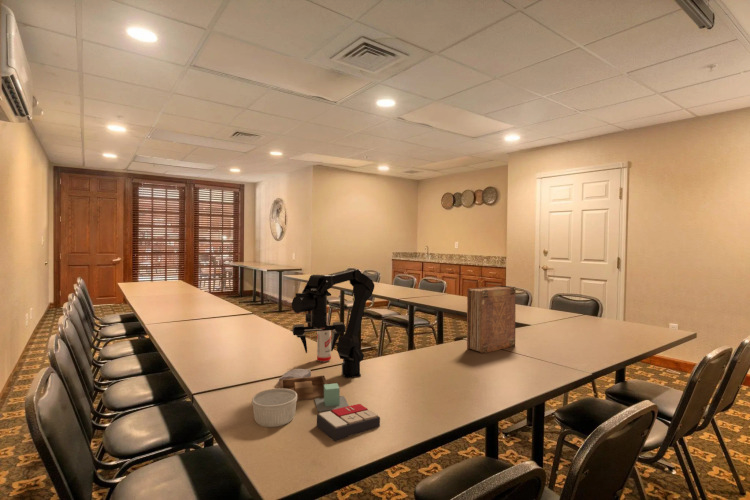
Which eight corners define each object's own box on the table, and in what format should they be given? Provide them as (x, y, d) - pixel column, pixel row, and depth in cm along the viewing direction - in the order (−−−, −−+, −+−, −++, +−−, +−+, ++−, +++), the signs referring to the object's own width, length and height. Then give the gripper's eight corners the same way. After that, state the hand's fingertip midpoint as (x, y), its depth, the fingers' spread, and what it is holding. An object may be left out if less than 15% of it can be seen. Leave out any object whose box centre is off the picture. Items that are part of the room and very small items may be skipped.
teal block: (337, 399, 130) (337, 383, 130) (339, 405, 126) (339, 388, 126) (323, 401, 129) (323, 384, 129) (325, 406, 125) (325, 389, 125)
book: (481, 353, 185) (481, 290, 184) (466, 349, 192) (466, 288, 192) (515, 345, 199) (515, 287, 198) (500, 342, 206) (500, 285, 206)
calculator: (380, 414, 112) (335, 426, 104) (380, 429, 112) (334, 442, 104) (360, 402, 121) (316, 411, 113) (359, 416, 121) (315, 426, 113)
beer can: (333, 359, 177) (333, 324, 177) (327, 363, 171) (327, 326, 171) (320, 357, 179) (320, 323, 179) (314, 361, 173) (314, 325, 173)
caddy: (324, 384, 145) (324, 375, 145) (328, 397, 133) (328, 387, 133) (279, 389, 141) (279, 379, 141) (280, 402, 129) (280, 391, 129)
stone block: (277, 391, 144) (302, 387, 142) (275, 378, 144) (300, 374, 142) (289, 381, 155) (313, 377, 154) (287, 369, 156) (311, 365, 154)
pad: (343, 396, 134) (343, 395, 134) (349, 408, 124) (349, 407, 124) (314, 399, 131) (314, 398, 131) (318, 412, 121) (318, 411, 121)
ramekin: (287, 431, 109) (286, 407, 109) (243, 427, 112) (243, 403, 112) (303, 411, 122) (303, 389, 122) (264, 408, 125) (264, 386, 125)
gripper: (340, 304, 152) (340, 344, 152) (291, 306, 147) (291, 348, 148) (345, 309, 141) (346, 352, 142) (293, 312, 137) (293, 356, 137)
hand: (319, 351), depth 142 cm, fingers open, 9 cm apart
